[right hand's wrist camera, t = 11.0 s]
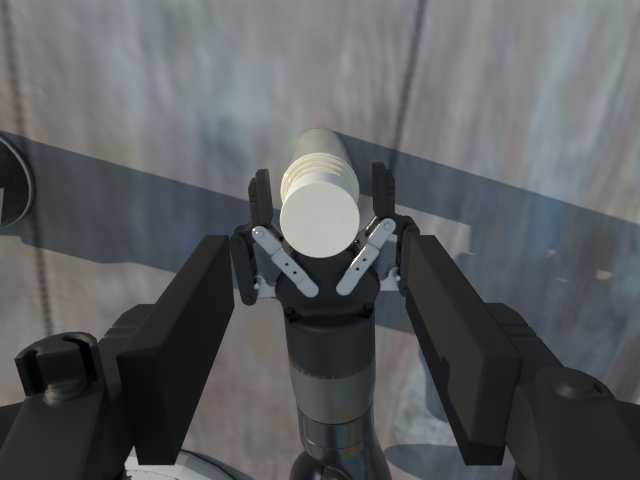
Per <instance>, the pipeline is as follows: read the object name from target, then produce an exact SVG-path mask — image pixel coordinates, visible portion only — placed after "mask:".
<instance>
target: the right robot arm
mask: <svg viewBox="0 0 640 480" xmlns="http://www.w3.org/2000/svg"><path fill="white" fill-rule="evenodd" d="M233 310H234V295H233V283H232V271H231V259H230V247H229V235H206V236H205V237H204V238H203V240H202V241H201V242H200V244H199V245H198V246H197V248H196V249H195V251H194V252H193V253H192V255H191V256H190V257H189V259H188V260H187V261H186V263H185V264H184V265H183V267H182V268H181V269H180V271H179V272H178V273H177V275H176V276H175V278H174V279H173V280H172V282H171V283H170V284H169V286H168V287H167V288H166V290H165V291H164V292H163V294H162V295H161V296H160V298H159V299H158V300H157V302H156V303H155V304H138V305H136V306H135V307H133V308H131V309H130V310H128V311H127V312H125V313H123V314H122V315H121V316H120V317H119V319H118V320H117V321H116V322H115V323H114V324H113V326H112V328H110V329H109V330H108V332H107V333H106V334H105V335H104V338H102V339H101V340H100V341H99V342H98V343H97V339H96V338H95V337H94V336H92V335H91V334H89V333H84V332H66V333H61V334H57V335H53V336H49V337H47V338H44V339H42V340H39V341H37V342H35V343H33V344H32V345H30V346H28V347H27V348H25V349H24V350H22V351H21V352H20V353H19V355H18V356H17V357H16V358H15V359H14V360H15V363H16V366H17V369H18V372H19V376H20V379H21V382H22V385H23V388H24V392H25V395H26V398H25V400H24V402H20V403H16V404H12V405H7V406H2V407H0V480H127V472H126V468H125V462H126V460H127V458H128V456H129V454H130V453H131V451H132V449H133V447H135V452H136V456H137V461H138V465H175V463H176V460H177V458H178V455H179V452H180V450H181V447H182V444H183V442H184V439H185V436H186V434H187V431H188V428H189V426H190V423H191V421H192V418H193V415H194V413H195V410H196V407H197V405H198V402H199V399H200V397H201V394H202V391H203V389H204V386H205V384H206V381H207V378H208V376H209V373H210V370H211V368H212V365H213V362H214V360H215V357H216V354H217V352H218V349H219V347H220V344H221V341H222V339H223V336H224V333H225V331H226V328H227V325H228V323H229V320H230V317H231V315H232V312H233ZM406 310H407V312H408V315H409V317H410V320H411V323H412V325H413V328H414V331H415V333H416V336H417V339H418V341H419V344H420V347H421V349H422V352H423V354H424V357H425V360H426V362H427V365H428V368H429V370H430V373H431V376H432V378H433V381H434V384H435V386H436V389H437V391H438V394H439V397H440V399H441V402H442V405H443V407H444V410H445V413H446V415H447V418H448V421H449V423H450V426H451V428H452V431H453V434H454V436H455V439H456V442H457V444H458V447H459V450H460V452H461V455H462V458H463V460H464V463H465V465H502V461H503V456H504V452H505V447H506V445H507V446H508V448H509V450H510V452H511V454H512V456H513V458H514V460H515V462H516V463H515V468H514V472H513V477H512V480H640V405H637V404H633V403H628V402H623V401H619V400H616V399H615V397H614V395H613V394H612V393H611V391H610V390H609V389H608V388H607V386H605V385H604V384H603V383H601V382H600V381H599V380H597V379H596V378H594V377H592V376H590V375H588V374H586V373H584V372H582V371H579V370H575V369H571V368H568V367H564V366H563V365H562V364H561V362H560V361H559V360H558V359H557V358H556V357H555V355H554V354H553V353H552V352H551V351H550V350H549V348H548V347H547V346H546V345H545V344H544V343H543V341H542V340H541V339H540V338H539V337H537V336H536V333H535V332H534V331H533V330H532V329H531V327H528V324H527V323H526V322H525V320H524V319H523V318H522V317H521V316H520V315H519V313H518V312H516V311H514V310H513V309H511V308H509V307H508V306H506V305H505V304H503V303H484V302H483V300H482V299H481V298H480V296H479V295H478V294H477V292H476V291H475V290H474V288H473V287H472V286H471V284H470V283H469V282H468V280H467V279H466V278H465V276H464V275H463V273H462V272H461V271H460V269H459V268H458V267H457V265H456V264H455V263H454V261H453V260H452V259H451V257H450V256H449V255H448V253H447V252H446V251H445V249H444V248H443V246H442V245H441V244H440V242H439V241H438V240H437V238H436V237H435V236H434V235H411V247H410V259H409V271H408V283H407V295H406Z"/></svg>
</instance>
